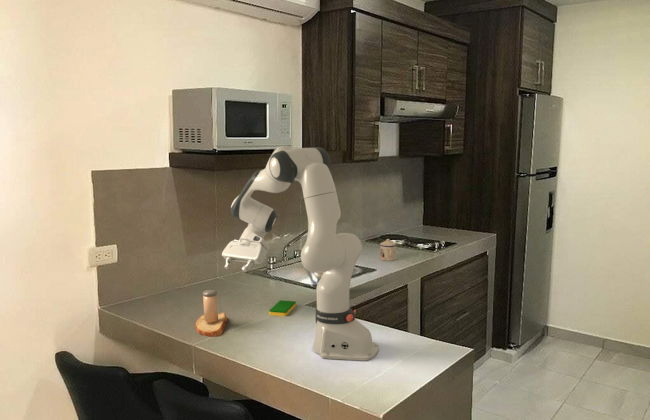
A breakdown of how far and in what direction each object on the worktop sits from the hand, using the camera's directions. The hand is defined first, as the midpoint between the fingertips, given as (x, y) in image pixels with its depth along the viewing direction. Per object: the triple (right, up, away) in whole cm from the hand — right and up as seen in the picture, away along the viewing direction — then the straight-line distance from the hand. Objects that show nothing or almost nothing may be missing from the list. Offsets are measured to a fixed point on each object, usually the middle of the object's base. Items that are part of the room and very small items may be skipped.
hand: (235, 269), depth 220 cm
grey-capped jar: (-8, -18, -8) cm, 21 cm away
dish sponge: (+18, -18, +10) cm, 28 cm away
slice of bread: (-7, -21, -7) cm, 24 cm away
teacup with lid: (+72, -5, +94) cm, 118 cm away
